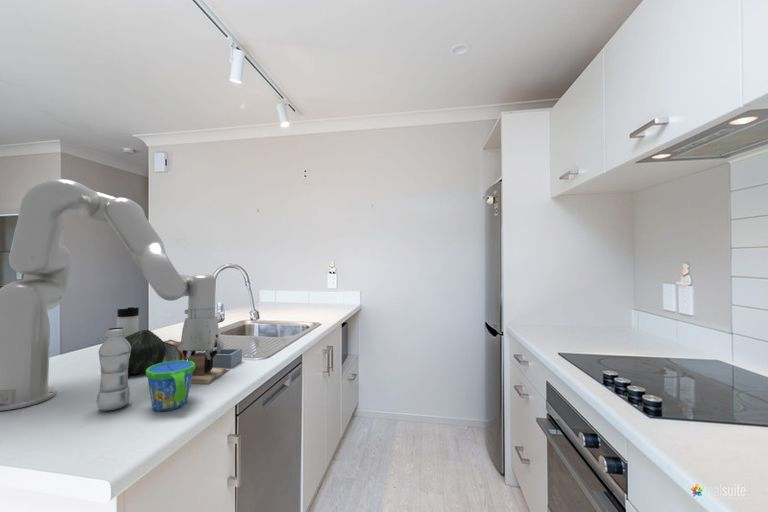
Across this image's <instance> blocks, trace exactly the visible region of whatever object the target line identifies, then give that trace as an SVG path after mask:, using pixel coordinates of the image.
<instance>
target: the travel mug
mask: <svg viewBox="0 0 768 512" xmlns="http://www.w3.org/2000/svg"><path fill="white" fill-rule="evenodd" d="M139 310H140V308H139V307H135V306H132V307H127V308H117V314H116V315H117V316H116V327H125V335H124V338H125V337H127V336H129V335H132V334H134V333H136V332H139V323H140V322H139V319H140V312H139Z"/></svg>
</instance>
